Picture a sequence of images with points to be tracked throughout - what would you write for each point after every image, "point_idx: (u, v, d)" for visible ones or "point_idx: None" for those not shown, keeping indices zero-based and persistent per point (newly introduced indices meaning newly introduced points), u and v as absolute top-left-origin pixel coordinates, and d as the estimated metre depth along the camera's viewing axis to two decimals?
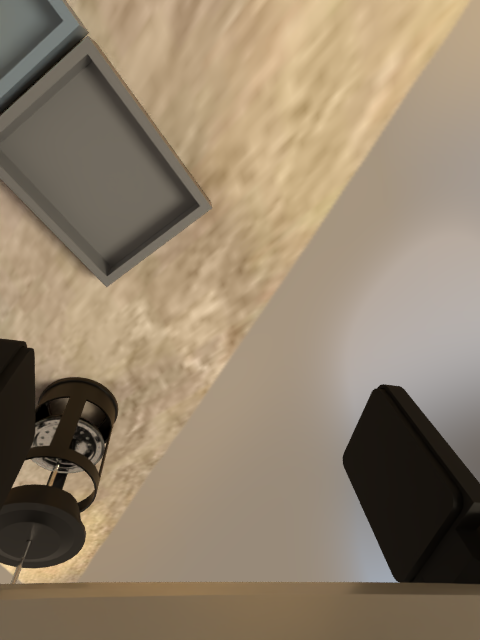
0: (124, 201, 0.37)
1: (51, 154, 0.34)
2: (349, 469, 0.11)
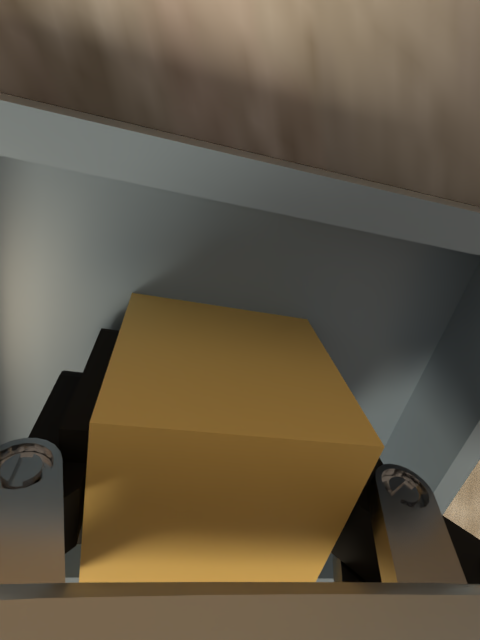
0: None
1: None
2: None
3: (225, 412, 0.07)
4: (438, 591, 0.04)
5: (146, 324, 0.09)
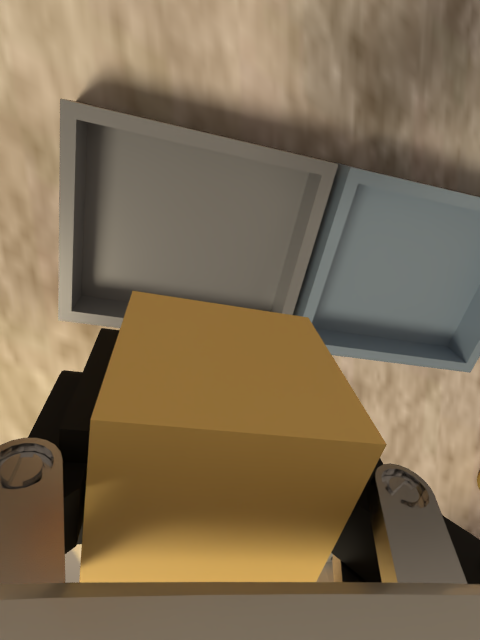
0: (149, 225, 0.26)
1: (254, 209, 0.26)
2: None
3: (227, 410, 0.07)
4: (438, 591, 0.04)
5: (147, 321, 0.09)
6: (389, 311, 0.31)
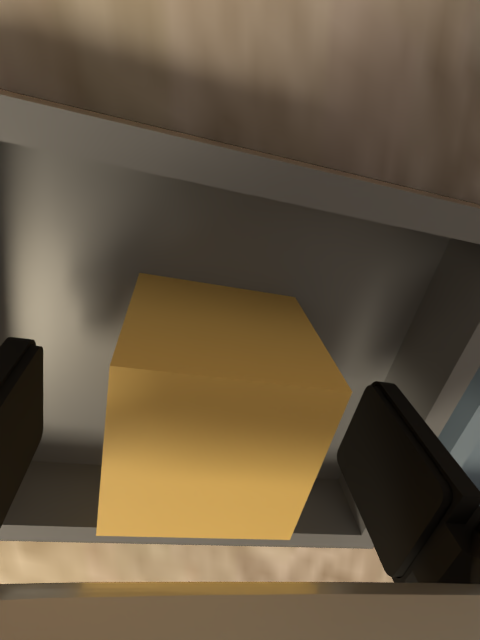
0: None
1: (334, 303, 0.13)
2: (343, 465, 0.12)
3: (220, 363, 0.08)
4: (438, 591, 0.04)
5: (152, 297, 0.10)
6: None
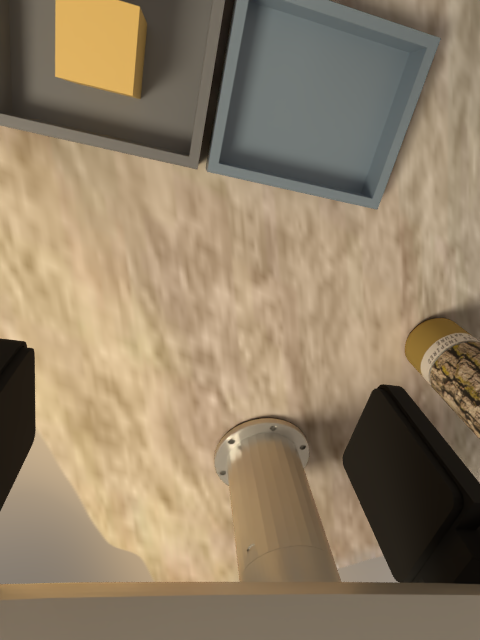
0: None
1: (166, 29, 0.29)
2: (349, 469, 0.11)
3: None
4: (438, 591, 0.04)
5: None
6: (301, 150, 0.34)
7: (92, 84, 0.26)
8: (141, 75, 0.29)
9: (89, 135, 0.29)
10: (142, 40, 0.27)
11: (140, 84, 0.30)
